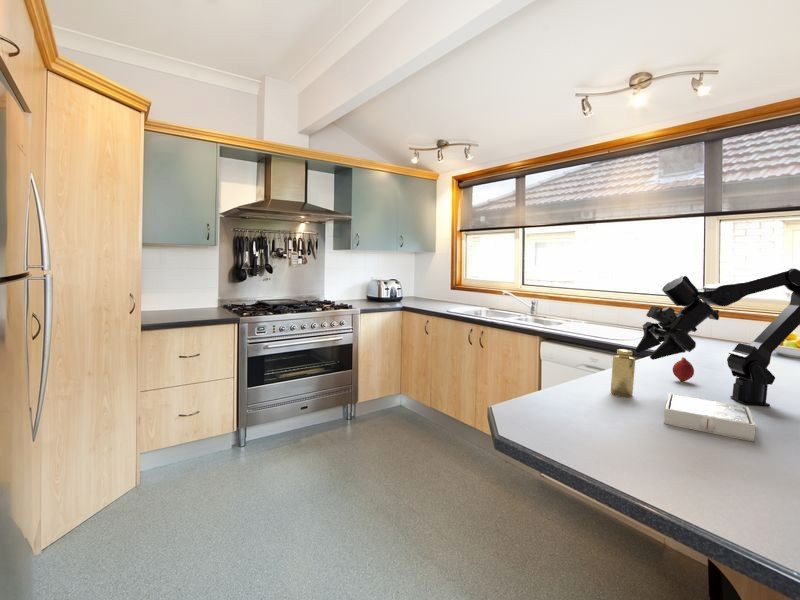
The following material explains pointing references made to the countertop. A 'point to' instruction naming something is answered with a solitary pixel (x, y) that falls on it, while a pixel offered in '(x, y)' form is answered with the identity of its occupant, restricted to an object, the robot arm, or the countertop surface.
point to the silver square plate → (709, 408)
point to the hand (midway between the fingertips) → (643, 355)
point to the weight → (623, 374)
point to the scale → (710, 422)
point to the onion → (683, 370)
